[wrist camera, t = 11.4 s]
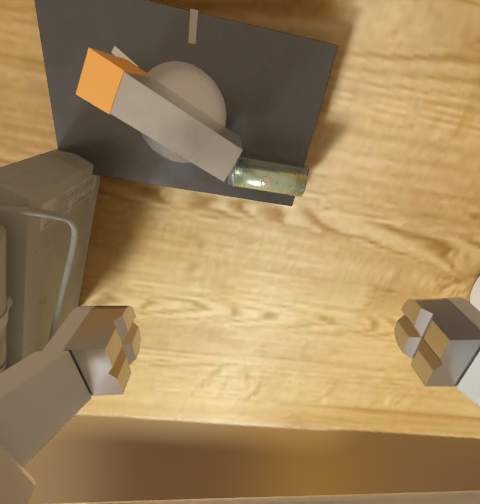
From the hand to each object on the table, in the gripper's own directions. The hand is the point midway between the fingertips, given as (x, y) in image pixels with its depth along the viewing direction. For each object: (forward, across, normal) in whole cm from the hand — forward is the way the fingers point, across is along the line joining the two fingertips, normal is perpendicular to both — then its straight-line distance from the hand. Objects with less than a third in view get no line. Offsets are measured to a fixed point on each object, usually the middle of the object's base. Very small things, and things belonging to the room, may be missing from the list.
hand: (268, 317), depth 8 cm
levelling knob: (+17, +4, -5) cm, 18 cm away
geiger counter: (+20, +19, +10) cm, 29 cm away
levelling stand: (+19, +4, -5) cm, 20 cm away
